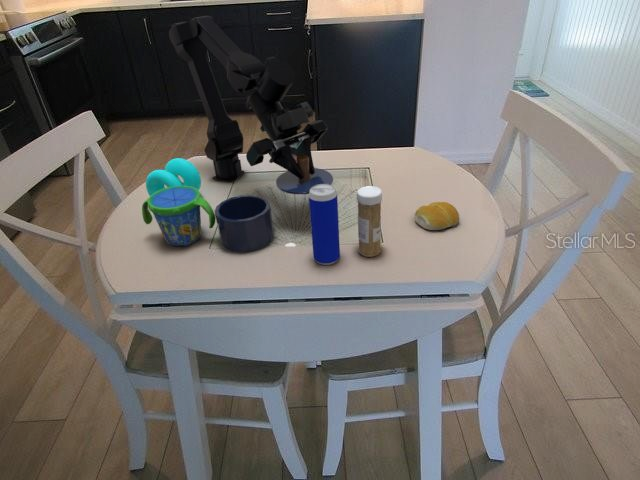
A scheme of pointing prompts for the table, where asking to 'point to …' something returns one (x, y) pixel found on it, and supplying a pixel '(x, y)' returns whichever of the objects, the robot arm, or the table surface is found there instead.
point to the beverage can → (324, 223)
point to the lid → (302, 186)
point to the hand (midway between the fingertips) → (308, 176)
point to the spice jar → (369, 220)
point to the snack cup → (178, 213)
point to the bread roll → (437, 216)
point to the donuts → (173, 176)
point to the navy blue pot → (245, 223)
